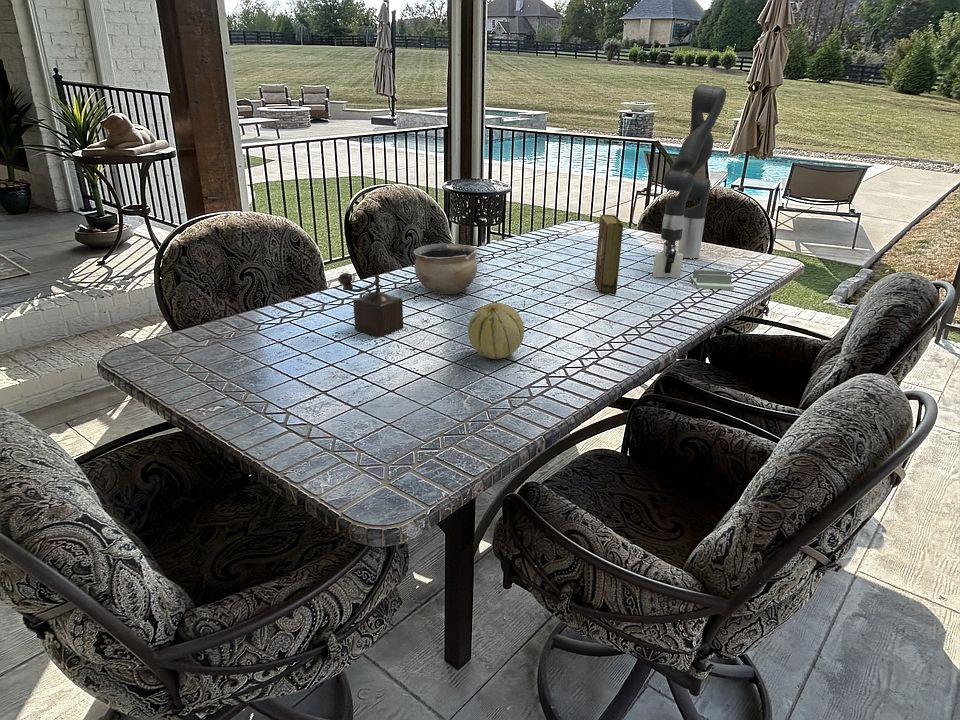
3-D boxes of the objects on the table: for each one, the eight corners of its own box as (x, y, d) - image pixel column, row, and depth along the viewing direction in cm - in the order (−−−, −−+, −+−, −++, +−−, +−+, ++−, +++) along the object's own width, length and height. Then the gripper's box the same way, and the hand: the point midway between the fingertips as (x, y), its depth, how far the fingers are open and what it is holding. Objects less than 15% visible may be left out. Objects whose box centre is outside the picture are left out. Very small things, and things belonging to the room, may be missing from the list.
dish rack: (689, 278, 244) (690, 267, 243) (723, 280, 243) (725, 268, 241) (696, 288, 231) (698, 276, 230) (733, 290, 230) (735, 278, 229)
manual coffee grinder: (377, 320, 194) (374, 262, 187) (404, 328, 188) (402, 268, 181) (339, 334, 183) (334, 273, 176) (366, 343, 177) (362, 280, 170)
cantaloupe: (520, 346, 176) (522, 294, 171) (525, 367, 163) (528, 311, 157) (467, 346, 176) (467, 293, 170) (467, 367, 162) (468, 311, 157)
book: (593, 282, 237) (599, 214, 228) (608, 282, 237) (614, 214, 228) (600, 295, 222) (607, 223, 213) (616, 295, 222) (623, 223, 212)
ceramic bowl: (469, 303, 212) (469, 258, 206) (406, 298, 216) (405, 254, 210) (482, 285, 232) (482, 244, 226) (424, 280, 236) (423, 240, 230)
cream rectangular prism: (652, 275, 248) (655, 252, 244) (678, 276, 247) (681, 253, 243) (653, 277, 245) (656, 254, 242) (679, 278, 244) (683, 255, 241)
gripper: (659, 222, 245) (653, 266, 252) (665, 230, 232) (659, 276, 239) (679, 223, 245) (673, 267, 251) (686, 230, 232) (680, 276, 238)
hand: (666, 271), depth 245 cm, fingers closed on cream rectangular prism, 3 cm apart
